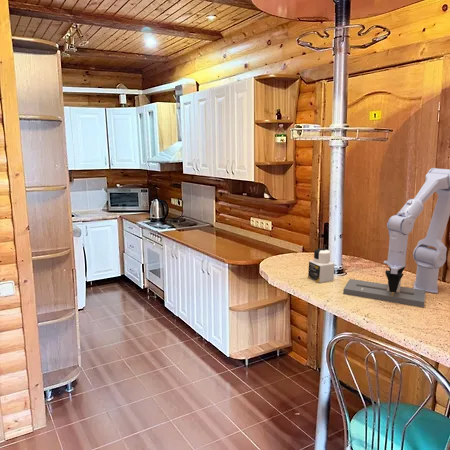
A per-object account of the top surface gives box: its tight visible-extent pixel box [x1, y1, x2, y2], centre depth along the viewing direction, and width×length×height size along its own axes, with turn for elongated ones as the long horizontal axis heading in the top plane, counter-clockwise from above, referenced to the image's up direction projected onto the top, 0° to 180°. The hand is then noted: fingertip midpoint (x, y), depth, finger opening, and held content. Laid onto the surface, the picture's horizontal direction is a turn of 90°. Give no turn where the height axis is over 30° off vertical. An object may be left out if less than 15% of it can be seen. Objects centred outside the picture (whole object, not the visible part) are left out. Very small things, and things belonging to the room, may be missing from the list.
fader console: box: [342, 278, 426, 309], centre depth 146 cm, size 12×26×2 cm, turn 63°
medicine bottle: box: [307, 248, 335, 284], centre depth 161 cm, size 7×7×12 cm
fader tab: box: [387, 278, 402, 293], centre depth 144 cm, size 3×4×5 cm
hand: (393, 287), depth 144 cm, fingers open, 7 cm apart
